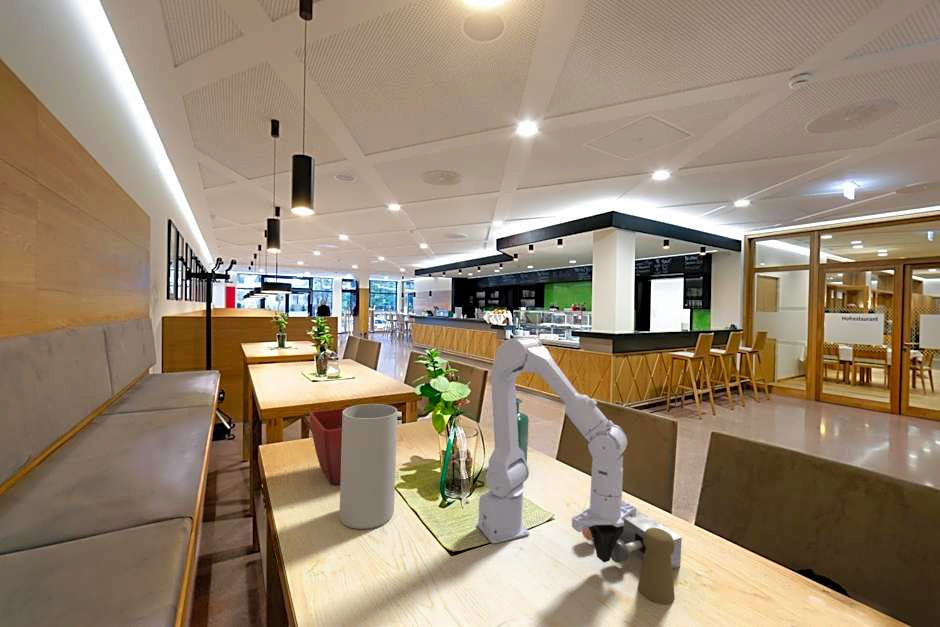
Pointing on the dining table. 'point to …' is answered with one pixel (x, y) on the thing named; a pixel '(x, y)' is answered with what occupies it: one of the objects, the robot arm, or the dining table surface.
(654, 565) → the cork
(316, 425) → the plant pot
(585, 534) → the terracotta knob
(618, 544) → the gray knob
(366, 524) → the cylinder vase
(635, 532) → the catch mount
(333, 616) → the dining table surface
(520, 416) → the green bottle
